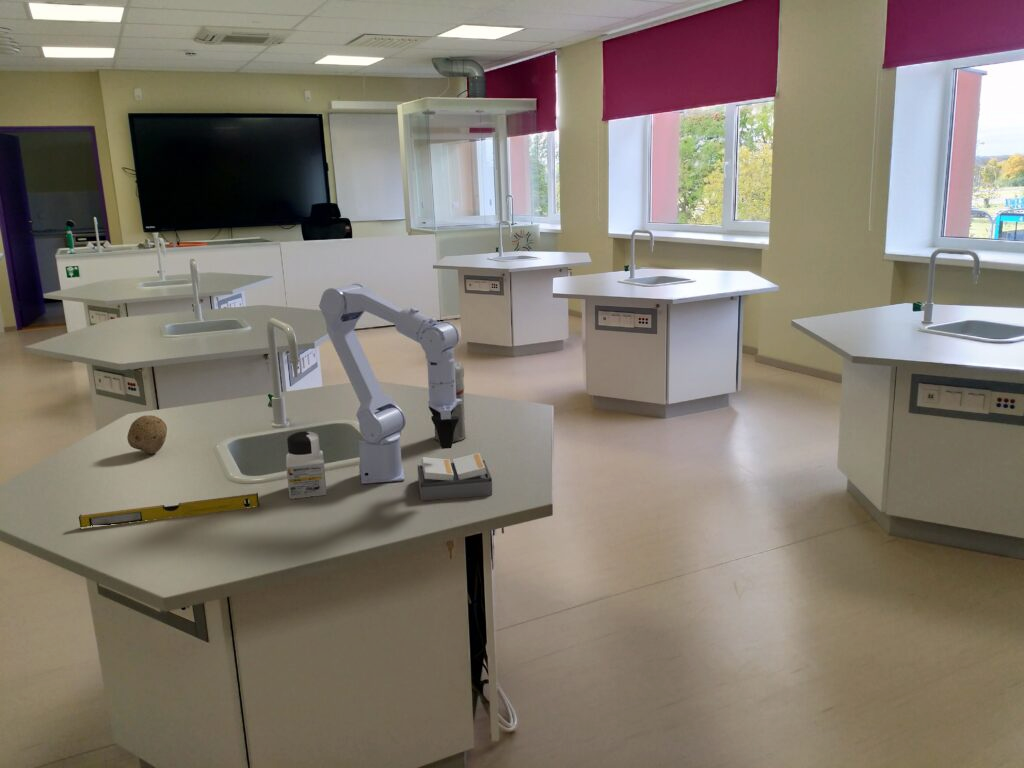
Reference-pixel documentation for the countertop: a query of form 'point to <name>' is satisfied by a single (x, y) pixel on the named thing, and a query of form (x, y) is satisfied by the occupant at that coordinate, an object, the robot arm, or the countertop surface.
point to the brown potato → (147, 434)
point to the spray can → (458, 405)
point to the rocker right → (469, 466)
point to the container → (305, 466)
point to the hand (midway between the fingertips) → (444, 442)
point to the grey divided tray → (454, 486)
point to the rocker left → (437, 469)
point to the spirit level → (169, 510)
